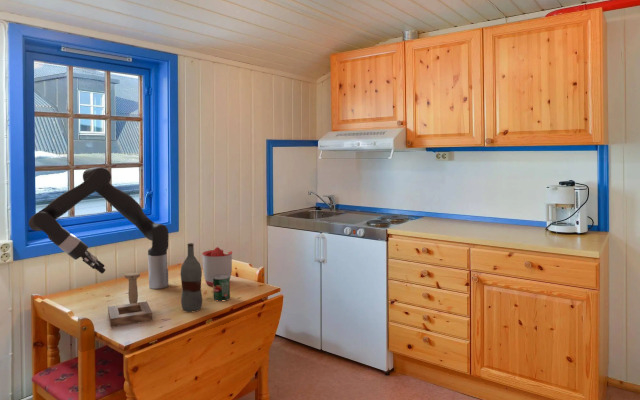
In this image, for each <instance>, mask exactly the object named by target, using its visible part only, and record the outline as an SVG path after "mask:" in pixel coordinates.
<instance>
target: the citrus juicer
mask: <svg viewBox="0 0 640 400" xmlns="http://www.w3.org/2000/svg"><path fill="white" fill-rule="evenodd" d="M201 255H202V274H203V276H204V280H205V282H206V283H205V284H206V285H208V286H211V287H213V276H215V275H222V274H224V275H229V276H230V278H231V276H232V272H233V268H232V267H233V257H232V256H233V251H229V252H228V254H227V253H224V249H221V248H220V247H218V246H217V247H215V248H214V249H212V250H205V251H203V252H202V254H201Z"/></svg>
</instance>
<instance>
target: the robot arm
mask: <svg viewBox="0 0 640 400" xmlns="http://www.w3.org/2000/svg"><path fill="white" fill-rule="evenodd" d="M82 180H83V182H81V183H80V184H78V185H76V186H75V187H73V188H70V189H69V190H67V191H65V192H63V193H62V194H60V195H59V196H57V197H56V198H55V199H53V200H52V201H51V202H50V203H48V205H46V206H45V207H43V208H42V209H41V210H39V211H38V212H35V214H33V215H32V216H31V217H30V218H29V219H28V226H29V228H30V229H31V230H32V231H35V232H40V231H41V232H44V233H45V234H46V236H47V237H48V240H49V241H51V242H52V243H53V244H54V245H56V246H58V248H60V249H61V251H63V252H64V253H65V254H66V255H68V256H70V258H72V259H73V260H78V259H80V258H81V259H82V262H83V263H85V264H87V265H88V266H89V267H90V268H91V269H93V270H96V271H97V272H99V273H100V274H104V273H105V272H106V268H105V264H104V263H102V262H101V261H100V260H99V258H97V256H95V255H93V254H92V253H91V252H90V251H88V248H89V246H88V245H87V244H86V243H85V242H84V241H82V240H81V239H80V238H78V237H77V236H76V235H74V234H73V233H70V231H68V230H67V229H66V228H64V227H62V225H61V224H60V223H59V222H58V221H57V219H58V218H60V217H62V216H64V215H65V214H66V213H68V211H70V210H71V209H72V208H74V207H75V206H76V205H77V204H79V203H80V202H82V201H83V200H85V199H86V198H87V197H89V196H90V195H92V194H94V193H95V192H96V193H97V194H98V195H99V196H101V197H102V198H104V200H105V201H106V202H107V203H109V204H110V206H112V207H113V208H114V209H115V210H116V211H118V212H119V214H120V215H121V216H123V217H124V218H125V219H126V220H128V221H129V222H130V223H131V224H133V225H134V226H135V227H136V228H137V229H138V230H139V231H140V232H141V233H142V235H143V236H144V237H145V238H146V239H148V240H149V241H151V247H150V248H148V249H147V263H148V264H147V265H148V287H149V289H155V290H157V289H164V288H167V287H169V268H168V254H167V252H168V249H169V230H168V227H167V226H166V225H165V224H161V223H156V222H155V221H153V220H152V219H150V218H149V217H148V216H147V215H146V213H145V212H144V210H143V208H142V207H141V205H140V204H139V203H138V202H137V200H136V199H135V198H133V197H132V196H131V195H130V194H129V193H127V192H125V191H124V190H121V189H119V188H117V187H116V186H115V185H113V184H111V183H110V182H111V180H112V174H111V172H110V171H109V170H108V169H107V168H105V167H100V166H99V167H91V168H86V169H85V170H84V172H83V173H82Z"/></svg>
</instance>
